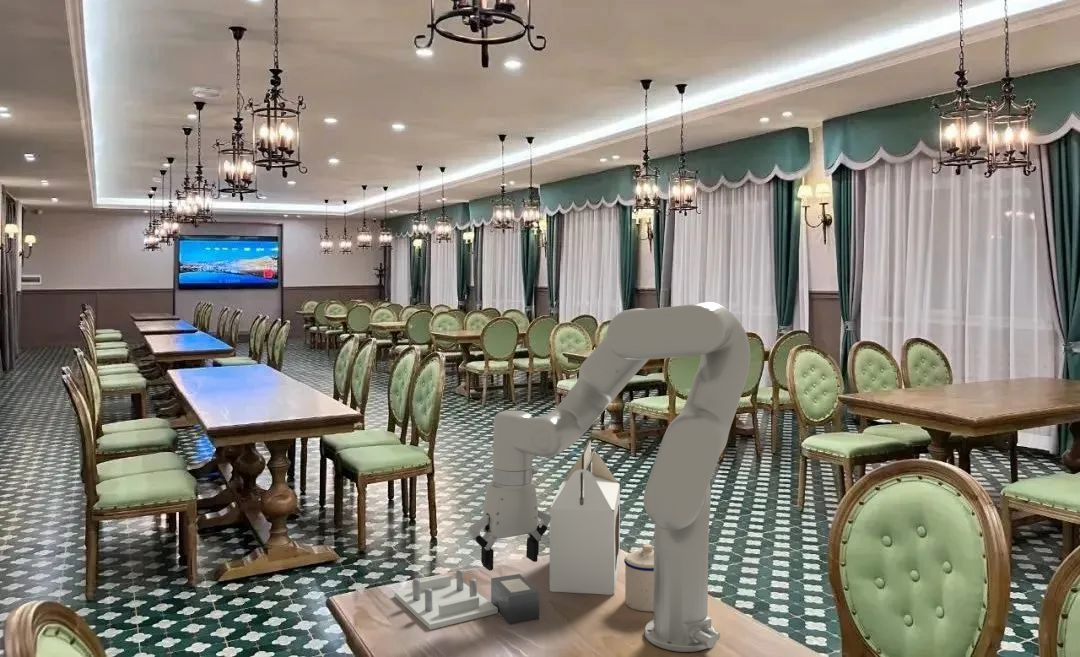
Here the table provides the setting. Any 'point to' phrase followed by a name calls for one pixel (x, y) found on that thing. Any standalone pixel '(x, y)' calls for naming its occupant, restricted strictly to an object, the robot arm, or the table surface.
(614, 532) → the gable box
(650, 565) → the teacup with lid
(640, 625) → the table surface
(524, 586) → the drive
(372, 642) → the table surface
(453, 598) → the peg fixture base
